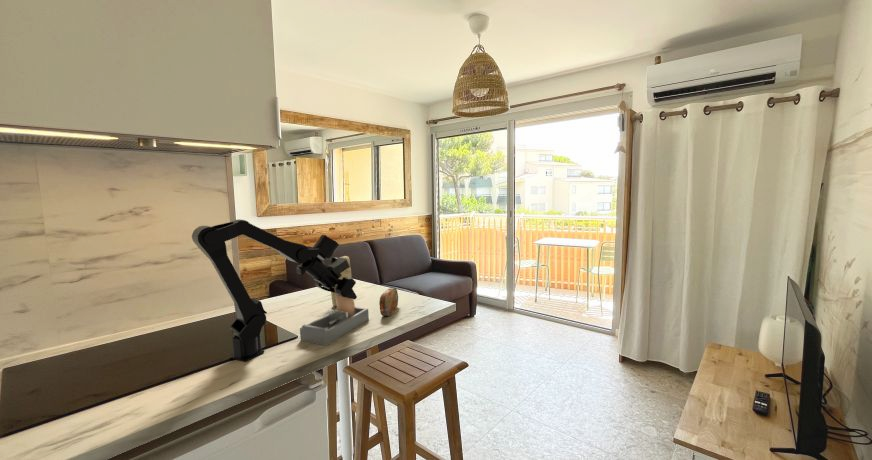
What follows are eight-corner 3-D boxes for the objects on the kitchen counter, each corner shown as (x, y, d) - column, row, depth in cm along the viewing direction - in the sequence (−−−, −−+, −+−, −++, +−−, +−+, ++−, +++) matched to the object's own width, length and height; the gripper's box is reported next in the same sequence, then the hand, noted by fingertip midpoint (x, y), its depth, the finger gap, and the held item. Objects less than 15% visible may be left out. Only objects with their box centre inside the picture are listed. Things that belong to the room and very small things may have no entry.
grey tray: (325, 345, 110) (325, 329, 109) (300, 340, 114) (299, 325, 113) (368, 319, 131) (368, 306, 130) (346, 315, 135) (345, 302, 134)
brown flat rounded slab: (386, 319, 131) (385, 296, 130) (378, 319, 131) (377, 296, 130) (399, 305, 145) (398, 285, 144) (391, 305, 146) (391, 285, 145)
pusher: (339, 331, 118) (338, 317, 117) (321, 328, 121) (320, 314, 120) (348, 325, 122) (347, 311, 122) (330, 322, 125) (330, 309, 125)
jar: (345, 324, 123) (340, 287, 122) (335, 320, 128) (330, 285, 126) (359, 318, 128) (355, 282, 126) (349, 315, 132) (345, 280, 130)
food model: (338, 309, 143) (335, 259, 140) (327, 306, 146) (324, 257, 144) (356, 302, 151) (354, 255, 148) (345, 299, 154) (343, 253, 152)
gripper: (349, 254, 115) (378, 281, 125) (320, 248, 128) (348, 273, 138) (328, 283, 111) (360, 309, 120) (300, 274, 124) (331, 298, 133)
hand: (350, 295), depth 128 cm, fingers open, 7 cm apart
